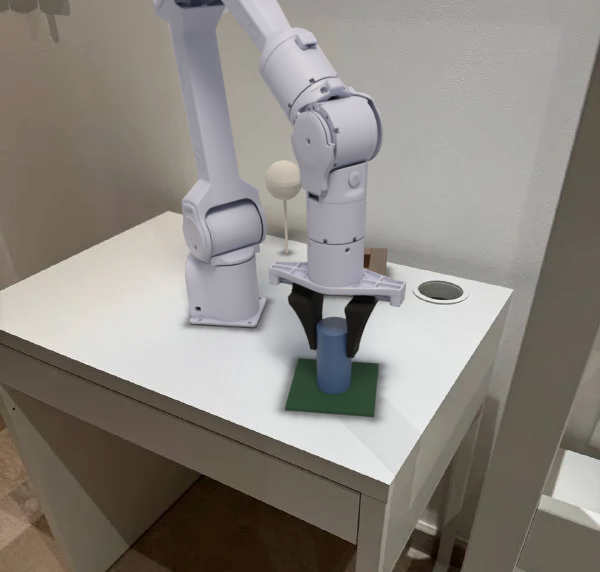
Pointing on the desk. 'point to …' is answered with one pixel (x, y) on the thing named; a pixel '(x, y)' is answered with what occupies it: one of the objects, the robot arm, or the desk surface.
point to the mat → (348, 403)
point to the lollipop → (283, 185)
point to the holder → (374, 261)
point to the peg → (332, 356)
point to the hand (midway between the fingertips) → (334, 349)
